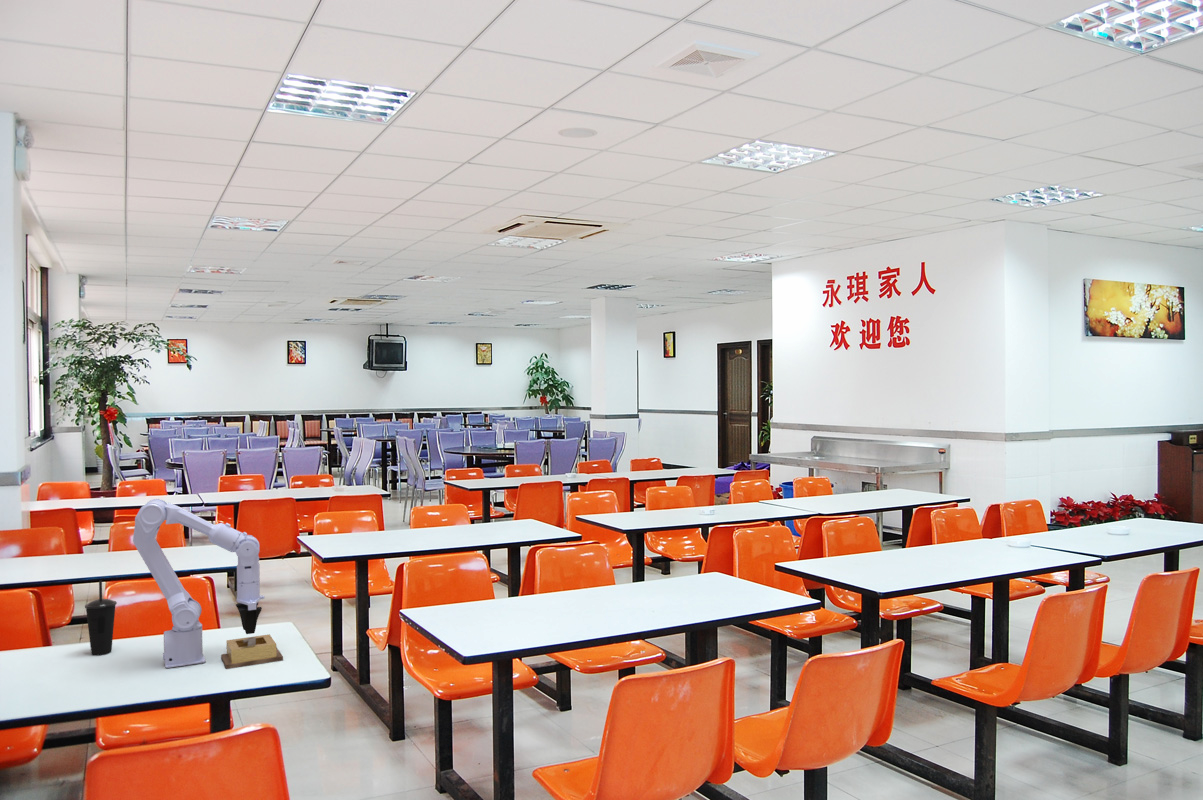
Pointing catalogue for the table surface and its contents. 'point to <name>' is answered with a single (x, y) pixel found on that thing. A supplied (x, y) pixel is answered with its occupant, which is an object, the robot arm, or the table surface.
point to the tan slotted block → (251, 649)
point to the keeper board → (250, 642)
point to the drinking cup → (100, 624)
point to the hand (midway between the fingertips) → (248, 631)
